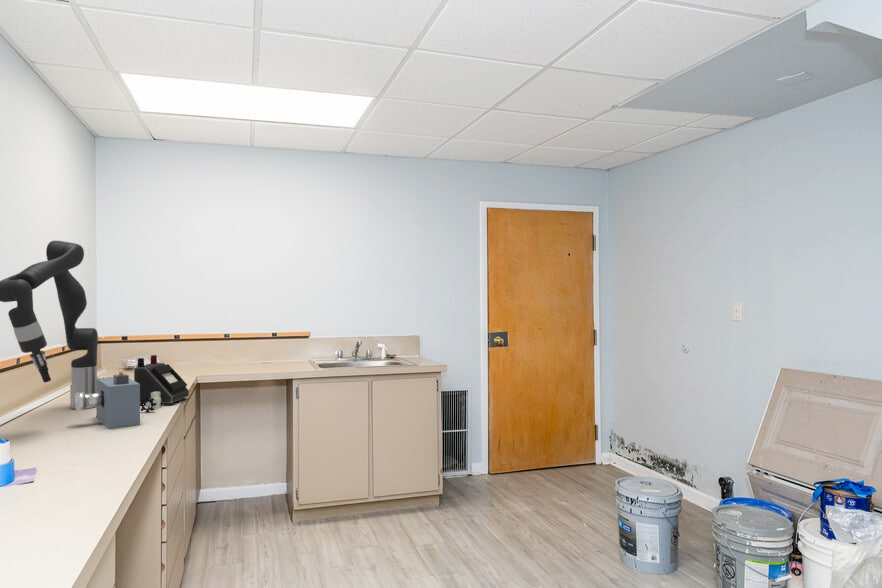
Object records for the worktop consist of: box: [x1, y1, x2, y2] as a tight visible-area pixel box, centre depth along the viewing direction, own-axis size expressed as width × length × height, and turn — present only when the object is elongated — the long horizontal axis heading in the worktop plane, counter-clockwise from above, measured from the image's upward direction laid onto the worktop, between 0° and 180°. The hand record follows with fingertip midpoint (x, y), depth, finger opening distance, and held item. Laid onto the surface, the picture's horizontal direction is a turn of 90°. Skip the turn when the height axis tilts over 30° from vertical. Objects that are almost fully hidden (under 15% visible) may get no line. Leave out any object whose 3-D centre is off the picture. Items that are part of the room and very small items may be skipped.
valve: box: [140, 392, 162, 414], centre depth 240 cm, size 7×7×12 cm
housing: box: [95, 377, 141, 430], centre depth 220 cm, size 24×10×15 cm, turn 40°
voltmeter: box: [133, 354, 190, 406], centre depth 256 cm, size 16×16×20 cm
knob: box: [75, 392, 104, 411], centre depth 214 cm, size 6×9×6 cm
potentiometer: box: [113, 369, 130, 385], centre depth 215 cm, size 5×4×5 cm
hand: (47, 381), depth 204 cm, fingers closed
